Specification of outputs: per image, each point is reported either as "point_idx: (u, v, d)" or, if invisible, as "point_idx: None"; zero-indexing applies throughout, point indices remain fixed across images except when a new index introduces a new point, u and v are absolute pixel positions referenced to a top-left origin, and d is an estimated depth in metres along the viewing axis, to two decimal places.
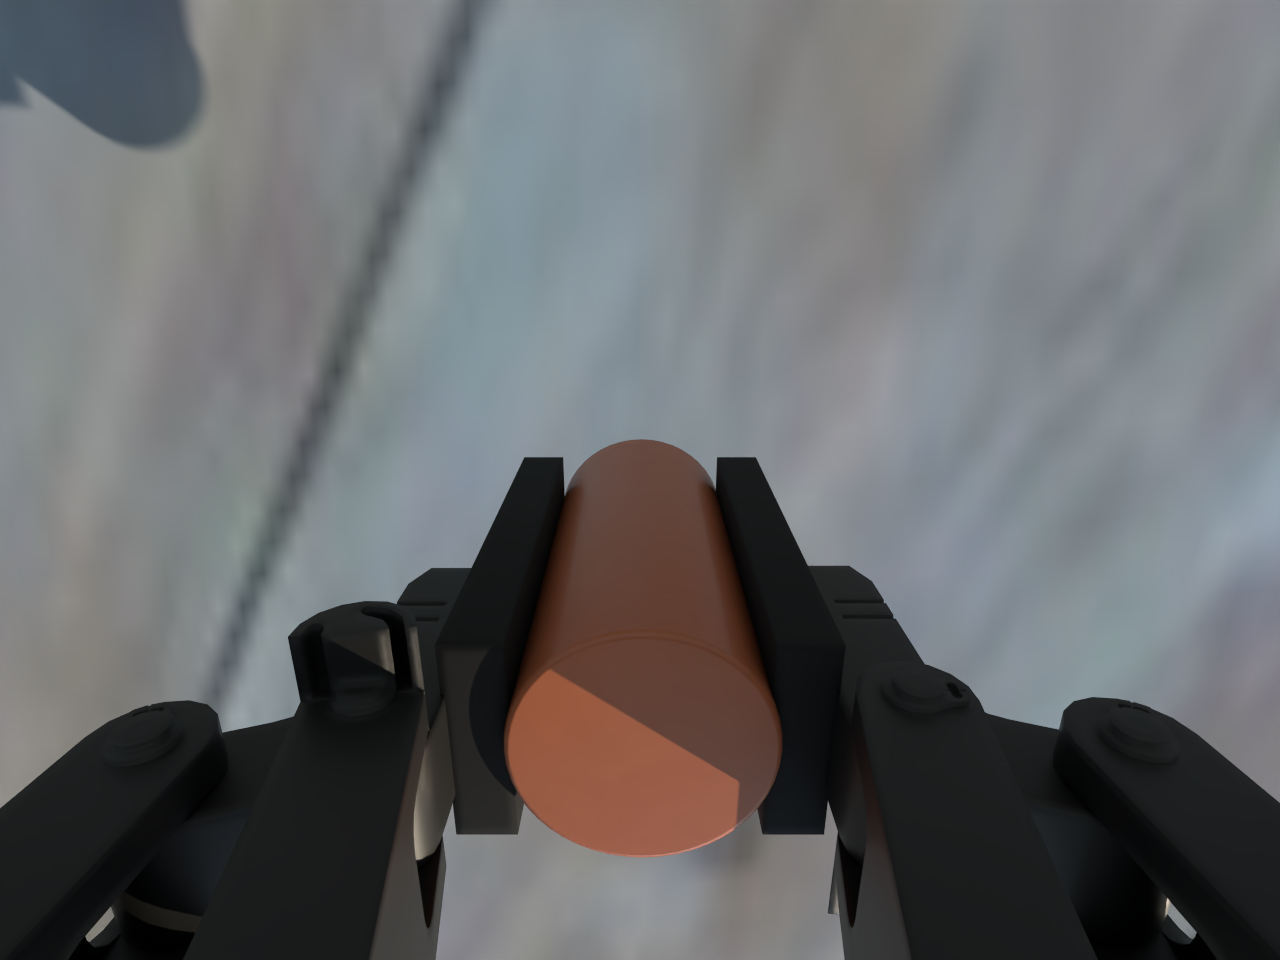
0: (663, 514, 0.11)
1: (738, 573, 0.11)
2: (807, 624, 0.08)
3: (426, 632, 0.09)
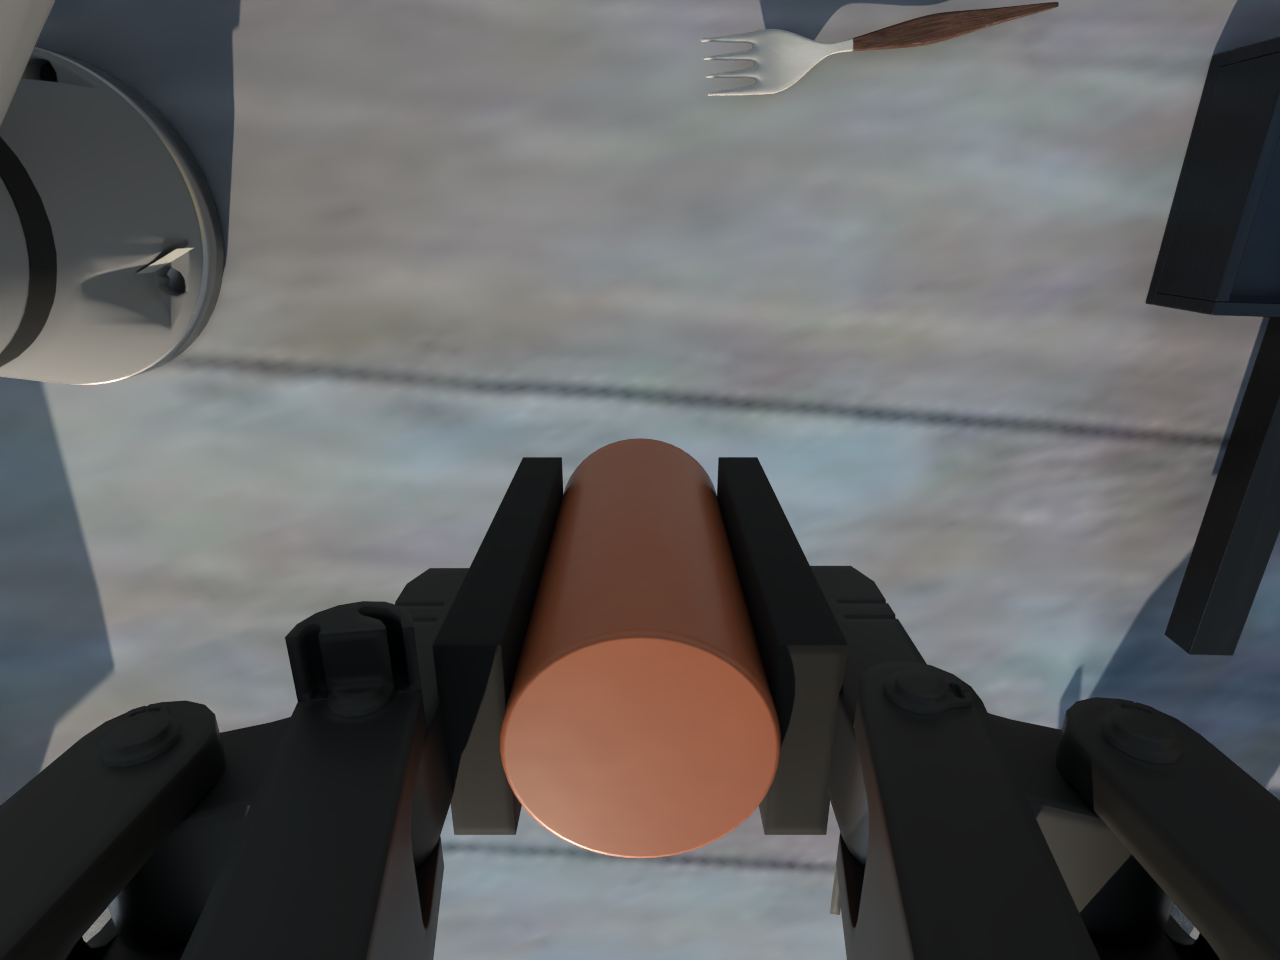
0: (661, 513, 0.11)
1: (737, 572, 0.11)
2: (809, 624, 0.08)
3: (424, 632, 0.09)
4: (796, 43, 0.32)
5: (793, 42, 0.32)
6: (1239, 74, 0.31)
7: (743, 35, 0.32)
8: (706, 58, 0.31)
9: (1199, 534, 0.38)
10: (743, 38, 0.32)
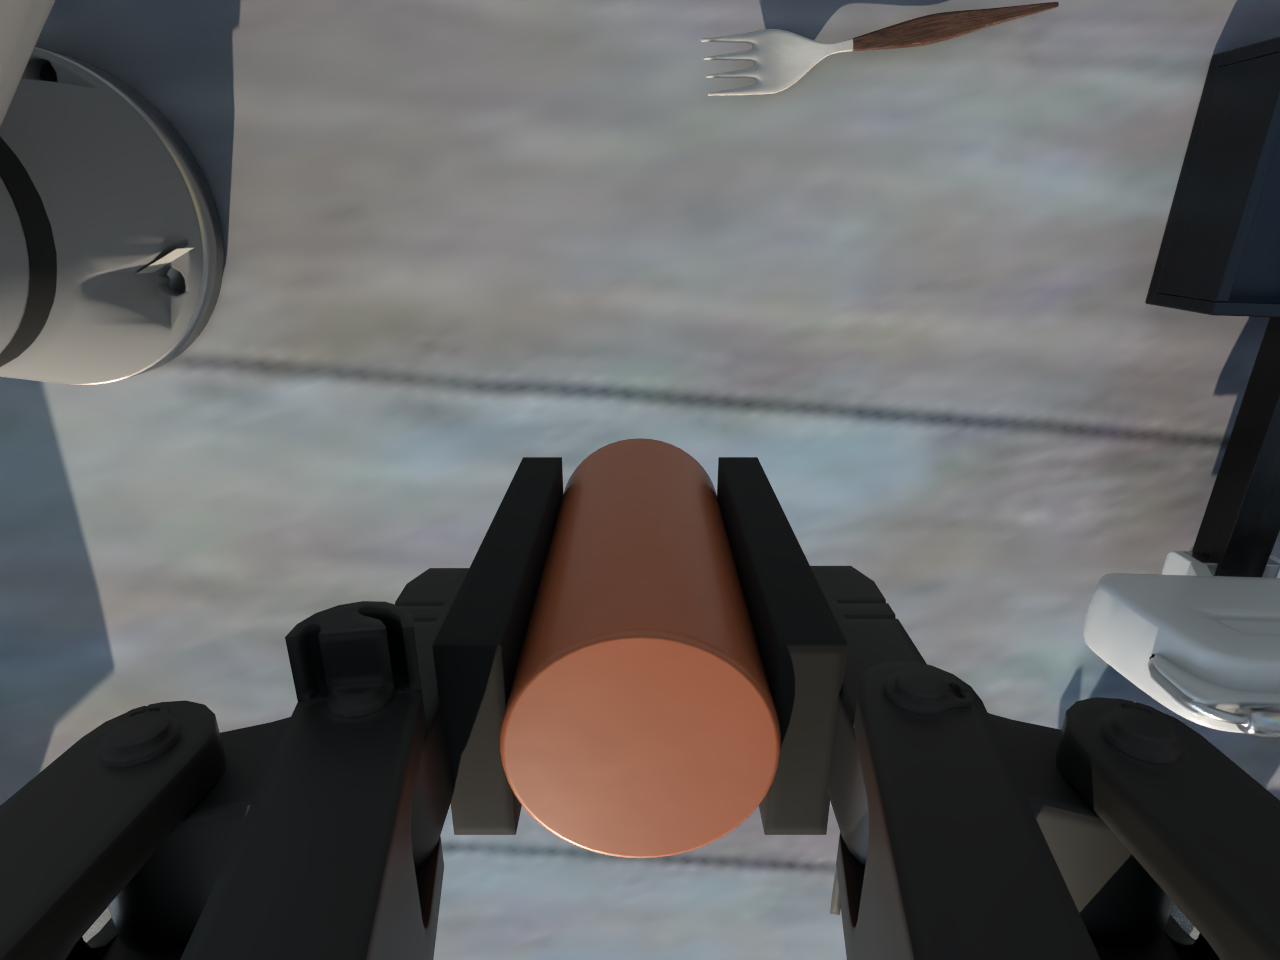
0: (661, 513, 0.11)
1: (737, 572, 0.11)
2: (809, 624, 0.08)
3: (424, 632, 0.09)
4: (796, 43, 0.32)
5: (793, 42, 0.32)
6: (1239, 74, 0.31)
7: (743, 35, 0.32)
8: (706, 58, 0.31)
9: (1199, 534, 0.38)
10: (743, 38, 0.32)
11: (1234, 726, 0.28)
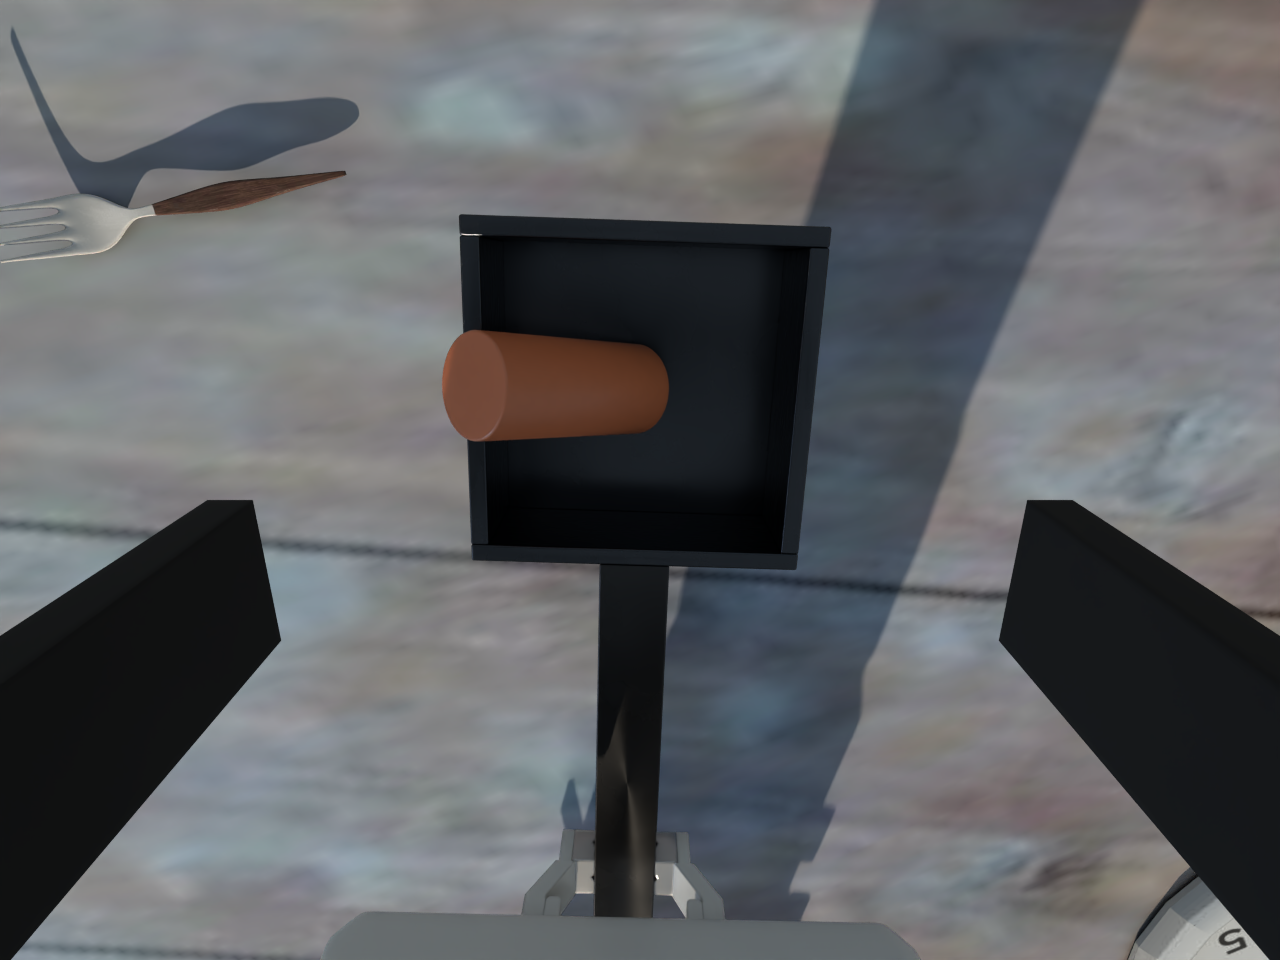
0: (565, 338, 0.23)
1: (585, 367, 0.22)
2: None
3: None
4: (103, 207, 0.33)
5: (101, 206, 0.33)
6: None
7: (39, 202, 0.32)
8: None
9: None
10: (40, 205, 0.32)
11: None
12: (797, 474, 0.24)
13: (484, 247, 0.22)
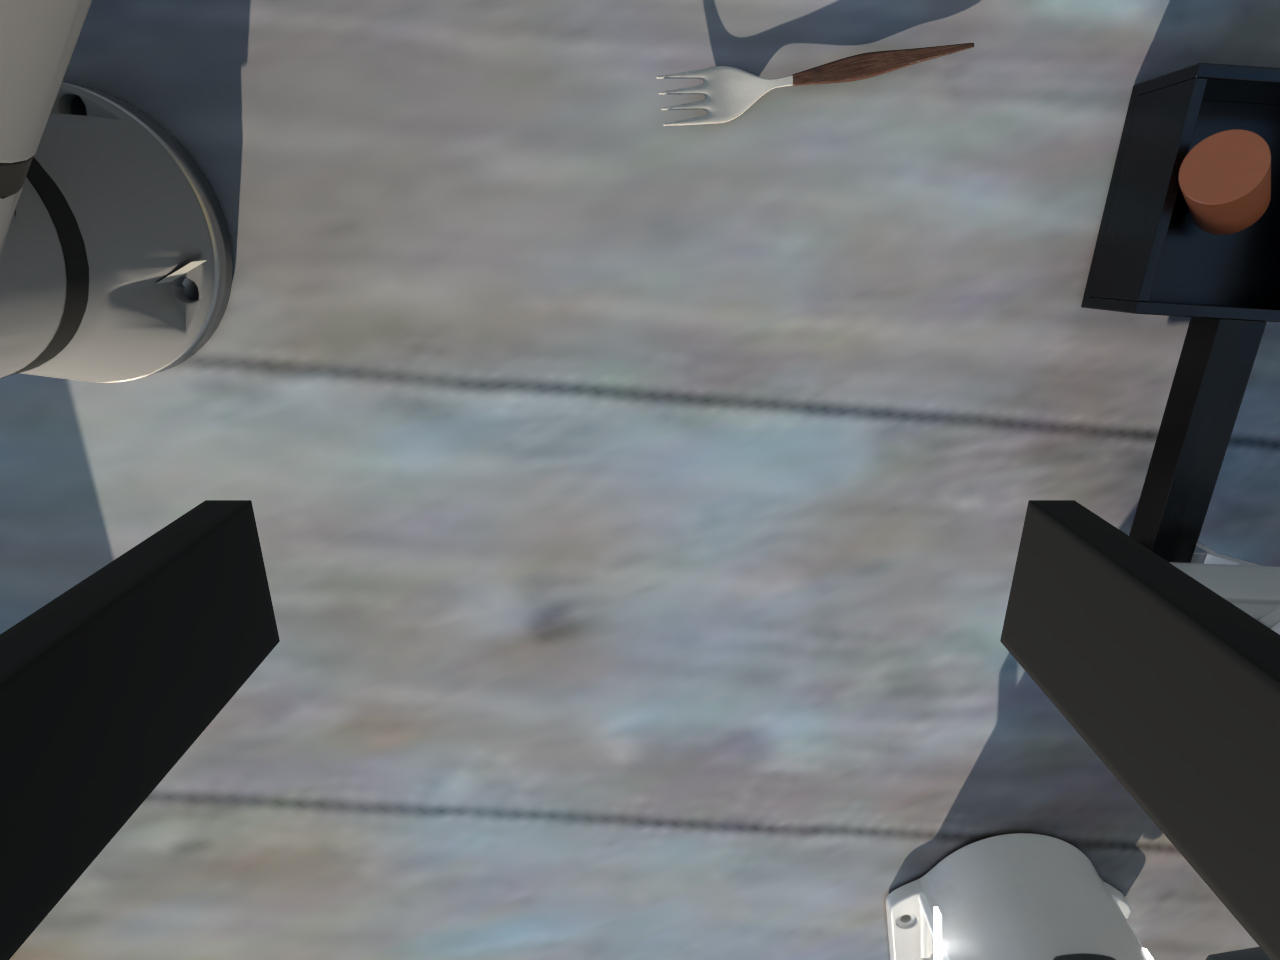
0: None
1: None
2: None
3: None
4: (742, 78, 0.36)
5: (740, 78, 0.36)
6: (1154, 101, 0.35)
7: (695, 72, 0.36)
8: (661, 93, 0.35)
9: (1134, 522, 0.41)
10: (695, 75, 0.36)
11: None
12: None
13: None
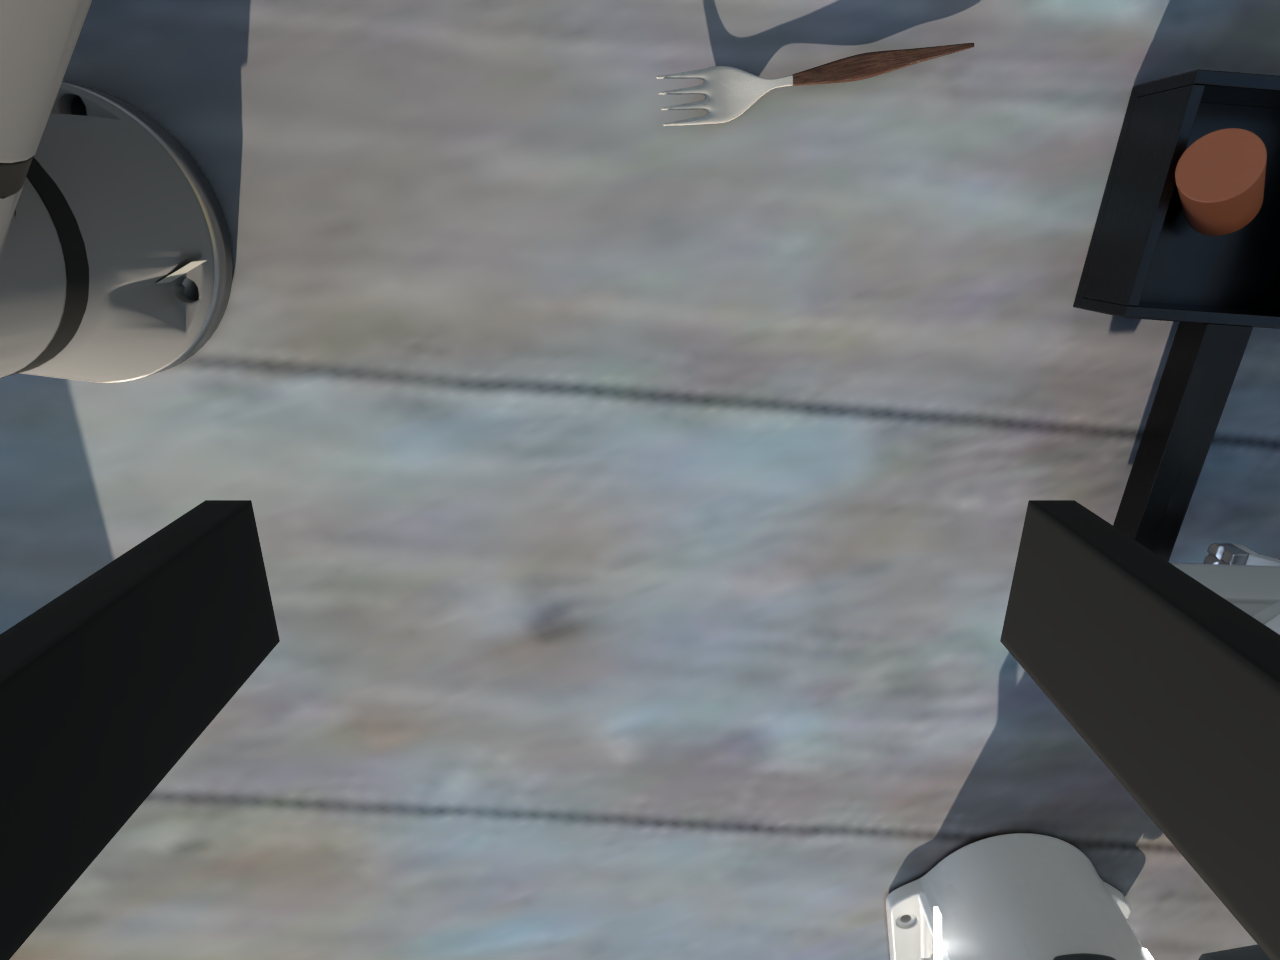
0: None
1: None
2: None
3: None
4: (742, 78, 0.36)
5: (740, 78, 0.36)
6: (1152, 104, 0.35)
7: (695, 72, 0.36)
8: (661, 93, 0.35)
9: (1116, 518, 0.42)
10: (695, 75, 0.36)
11: None
12: None
13: None
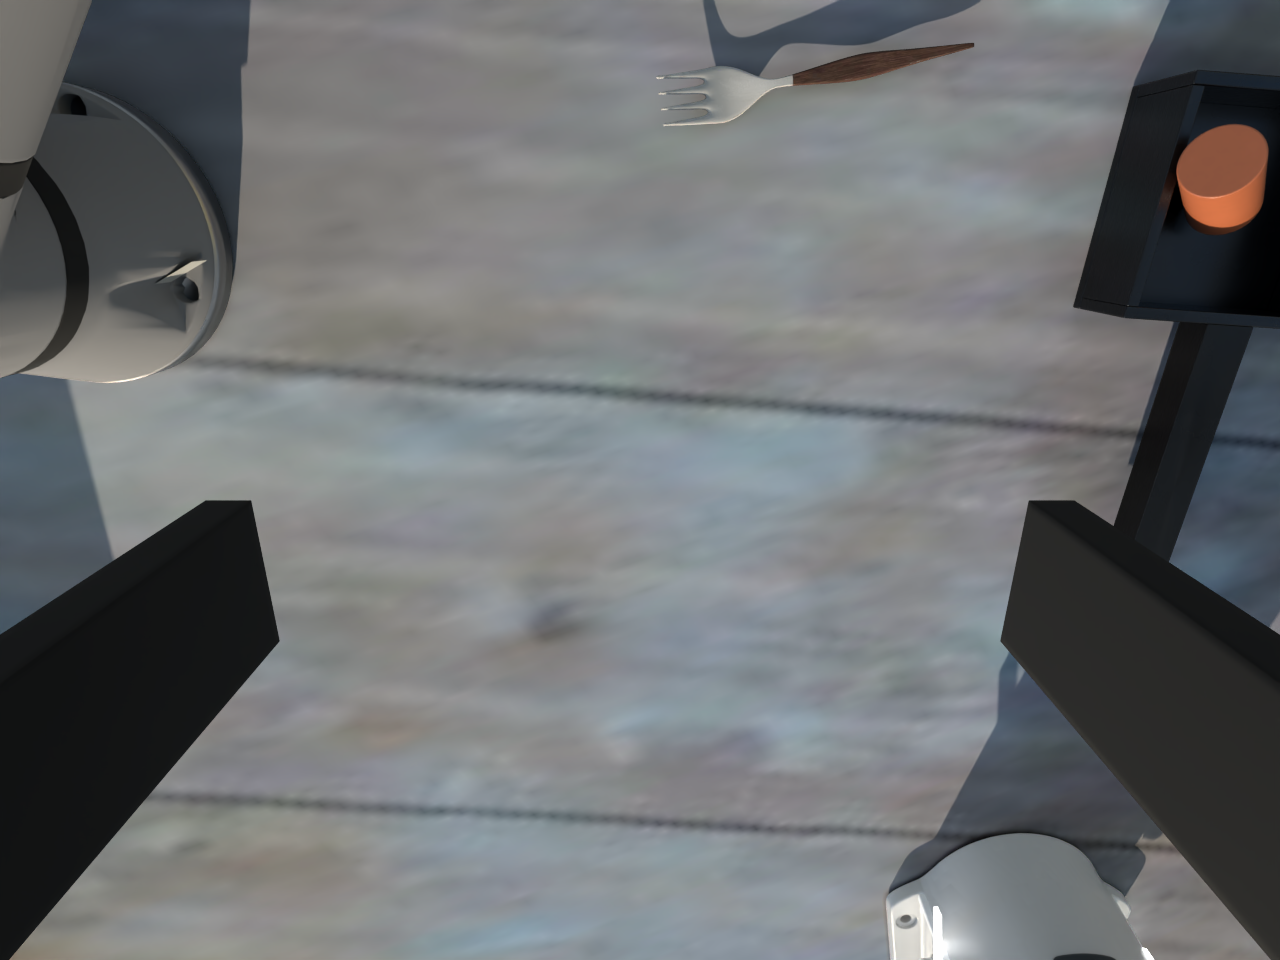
0: None
1: None
2: None
3: None
4: (742, 78, 0.36)
5: (740, 78, 0.36)
6: (1152, 105, 0.35)
7: (695, 72, 0.36)
8: (661, 93, 0.35)
9: (1117, 518, 0.42)
10: (695, 75, 0.36)
11: None
12: None
13: None
